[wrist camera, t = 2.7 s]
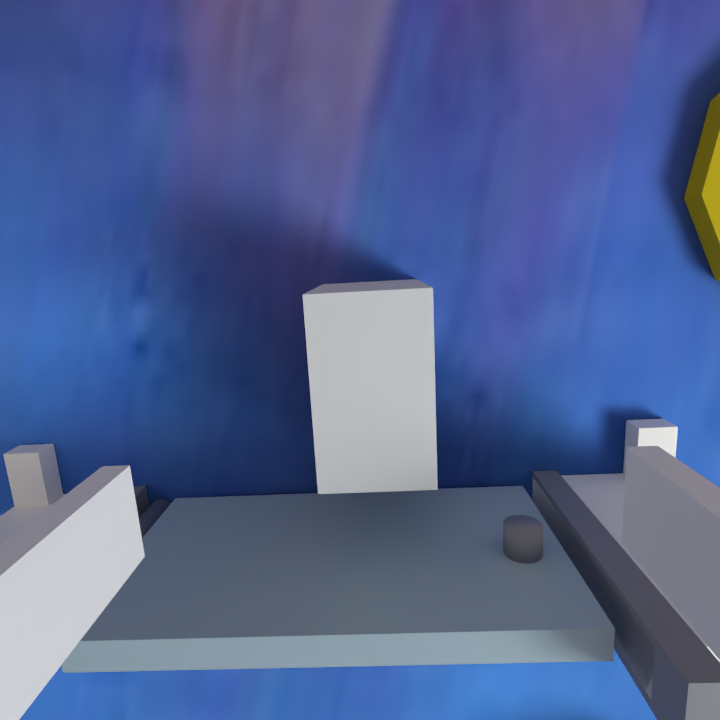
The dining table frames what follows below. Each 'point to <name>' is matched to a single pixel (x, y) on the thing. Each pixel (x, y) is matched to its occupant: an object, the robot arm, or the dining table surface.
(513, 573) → the door
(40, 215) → the dining table surface
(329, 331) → the white rectangular block
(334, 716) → the dining table surface
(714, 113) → the decorative disc
